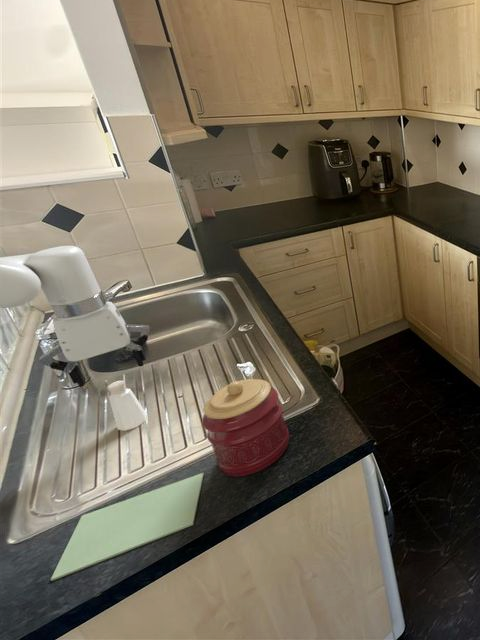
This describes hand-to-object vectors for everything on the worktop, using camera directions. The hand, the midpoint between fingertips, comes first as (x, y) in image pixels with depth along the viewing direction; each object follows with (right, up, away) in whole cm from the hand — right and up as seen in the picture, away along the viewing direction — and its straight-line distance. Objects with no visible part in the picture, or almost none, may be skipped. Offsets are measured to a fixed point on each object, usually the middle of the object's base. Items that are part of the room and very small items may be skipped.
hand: (113, 373), depth 90 cm
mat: (+23, -21, -19) cm, 36 cm away
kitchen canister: (+35, -15, -5) cm, 39 cm away
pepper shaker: (0, -13, +5) cm, 14 cm away
